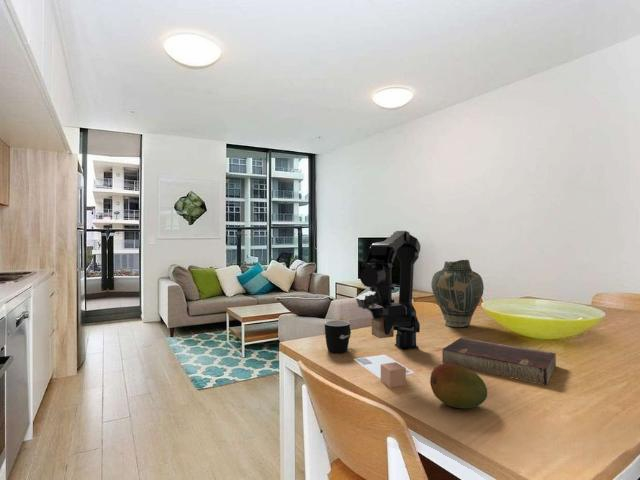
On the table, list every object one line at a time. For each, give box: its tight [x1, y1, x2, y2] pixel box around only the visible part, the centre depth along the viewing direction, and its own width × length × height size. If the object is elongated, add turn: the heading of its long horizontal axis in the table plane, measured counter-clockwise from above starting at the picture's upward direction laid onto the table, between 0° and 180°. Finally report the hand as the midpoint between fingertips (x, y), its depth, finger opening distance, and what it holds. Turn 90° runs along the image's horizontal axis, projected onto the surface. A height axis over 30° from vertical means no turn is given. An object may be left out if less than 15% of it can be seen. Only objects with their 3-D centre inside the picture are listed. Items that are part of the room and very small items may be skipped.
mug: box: [324, 319, 352, 354], centre depth 134 cm, size 12×9×10 cm
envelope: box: [353, 354, 415, 380], centre depth 117 cm, size 12×18×1 cm, turn 20°
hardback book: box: [441, 337, 557, 386], centre depth 118 cm, size 29×19×5 cm, turn 51°
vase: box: [430, 259, 485, 328], centre depth 168 cm, size 22×22×30 cm
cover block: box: [380, 361, 407, 389], centre depth 104 cm, size 5×5×5 cm
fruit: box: [429, 363, 488, 409], centre depth 91 cm, size 12×12×10 cm
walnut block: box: [371, 318, 395, 339], centre depth 117 cm, size 5×5×5 cm
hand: (382, 332), depth 117 cm, fingers closed on walnut block, 5 cm apart
